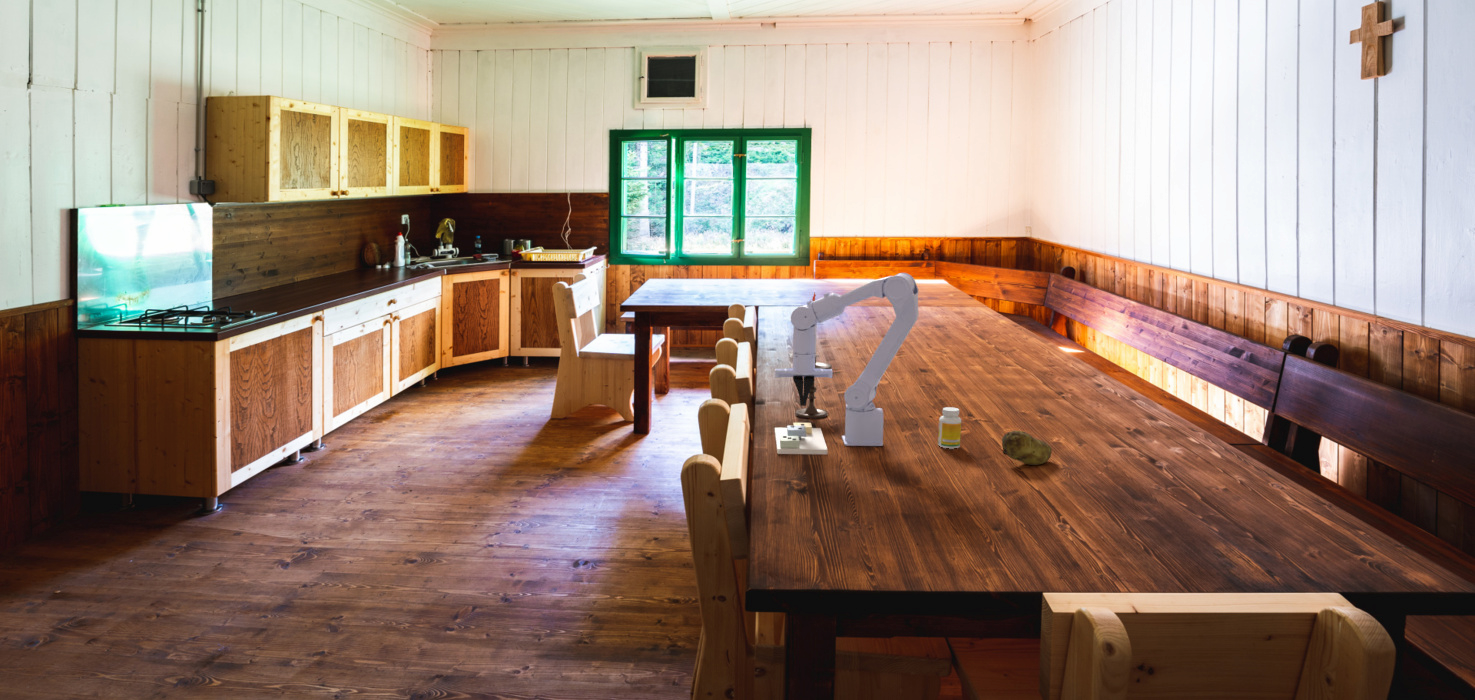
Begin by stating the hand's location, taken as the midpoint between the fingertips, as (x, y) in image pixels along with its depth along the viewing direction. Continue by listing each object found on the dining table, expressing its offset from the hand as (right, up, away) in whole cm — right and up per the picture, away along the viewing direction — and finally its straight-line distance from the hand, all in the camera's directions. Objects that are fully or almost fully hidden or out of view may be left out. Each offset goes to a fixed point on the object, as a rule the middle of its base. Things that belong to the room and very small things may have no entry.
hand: (803, 404), depth 228 cm
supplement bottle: (+36, -10, -7) cm, 38 cm away
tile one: (0, -7, +1) cm, 7 cm away
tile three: (-4, -9, -12) cm, 15 cm away
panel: (-1, -9, -4) cm, 10 cm away
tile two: (-2, -7, -5) cm, 9 cm away
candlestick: (+4, -5, +24) cm, 25 cm away
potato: (+51, -13, -20) cm, 56 cm away
